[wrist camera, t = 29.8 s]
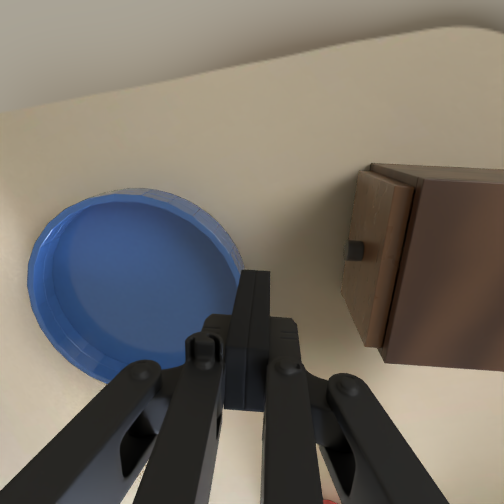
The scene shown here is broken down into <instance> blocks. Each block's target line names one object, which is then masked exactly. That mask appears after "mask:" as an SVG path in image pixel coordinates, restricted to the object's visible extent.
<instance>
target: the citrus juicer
mask: <svg viewBox="0 0 504 504" xmlns="http://www.w3.org/2000/svg"><path fill="white" fill-rule="evenodd" d="M323 504H337V503H335V502H332V501H330V500H323Z"/></svg>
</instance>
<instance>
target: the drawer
mask: <svg viewBox="0 0 504 504" xmlns="http://www.w3.org/2000/svg"><path fill="white" fill-rule="evenodd" d="M414 188H415V187H413V186H411V185H408V184H405V183H403V182H400V181H397V180H395V179H392V178H389V177H386V176H384V175H381V174H378V173H376V172H373V171H359V172H358V178H357V185H356V192H355V199H354V205H353V212H352V219H351V226H350V232H349V239H348V240H347V241H346V242H345V245H344V259H345V266H344V273H343V280H342V286H341V294H342V296H343V298H344V300H345V303H346V305H347V307H348V309H349V312H350V314H351V316H352V319H353V321H354V323H355V325H356V328H357V330H358V332H359V334H360V337H361V339H362V341H363V343H364V346H365V347H374V348H382V343H383V338H384V334H385V329H386V324H387V319H389V317H390V312H391V307H392V303H393V298H394V293H395V288H396V283H397V279H398V274H399V269H400V268H399V267H398V266H399V261H400V256H401V251H402V246H403V242H404V237H405V232H406V227H407V222H408V219H410V216H411V211H412V207H413V202H414V197H415V192H416V190H414Z"/></svg>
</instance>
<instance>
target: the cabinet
mask: <svg viewBox="0 0 504 504" xmlns="http://www.w3.org/2000/svg"><path fill="white" fill-rule="evenodd" d="M370 171H373V172H376V173H378V174H381V175H384V176H386V177H389V178H392V179H395V180H397V181H400V182H403V183H405V184H408V185H411V186H413V187H415V188H414V190H416V192H415V197H414V202H413V207H412V211H411V216H410V221H409V226H408V231H407V235H406V240H405V245H404V250H403V255H402V259H401V264H400V269H399V274H398V279H397V283H396V288H395V293H394V298H393V303H392V307H391V312H390V317H389V319H387V324H386V329H385V334H384V338H383V343H382V348H377V349H378V351H379V353H380V355H381V357H382V359H383V361H384V363H389V364H404V365H418V366H432V367H446V368H460V369H475V370H489V371H503V372H504V170H502V169H481V168H461V167H441V166H421V165H401V164H380V163H371V167H370Z"/></svg>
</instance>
